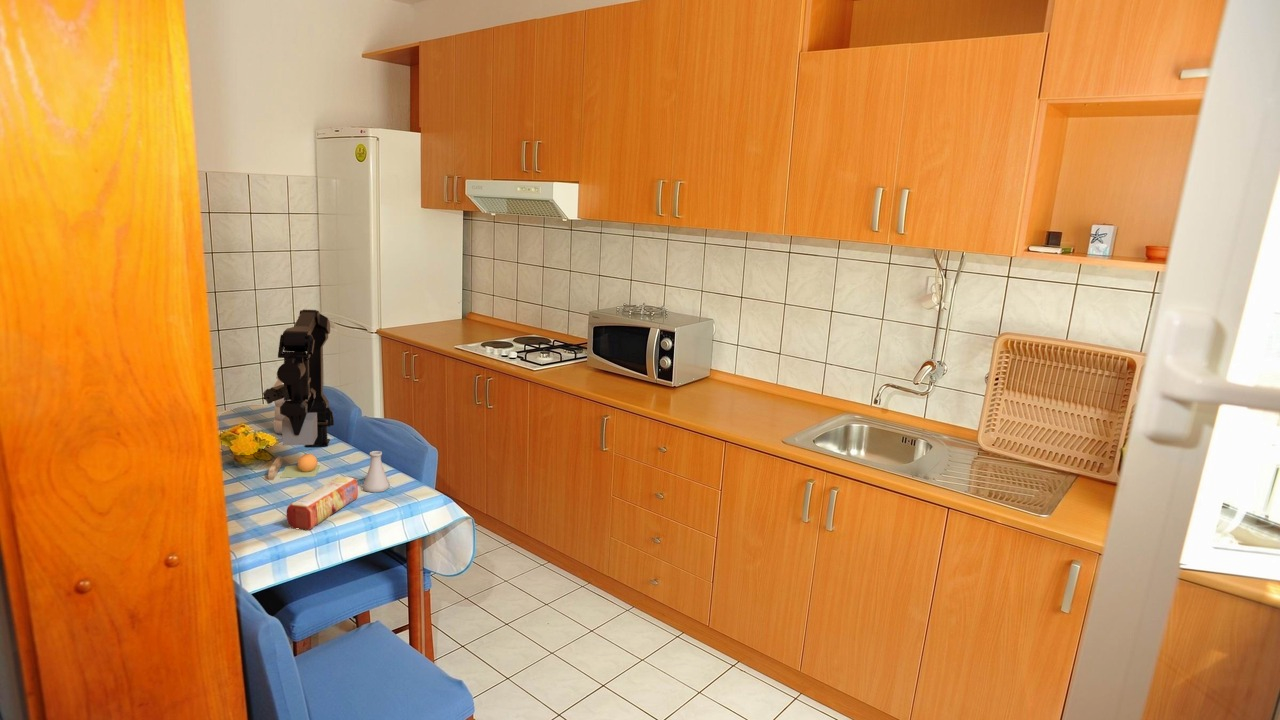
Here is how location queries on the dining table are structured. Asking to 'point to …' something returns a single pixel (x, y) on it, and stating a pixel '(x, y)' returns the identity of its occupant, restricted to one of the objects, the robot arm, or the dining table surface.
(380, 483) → the flask
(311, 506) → the snack package
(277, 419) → the plastic bottle
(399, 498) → the dining table surface
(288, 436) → the smooth grey cube
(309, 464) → the ball
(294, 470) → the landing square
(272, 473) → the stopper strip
